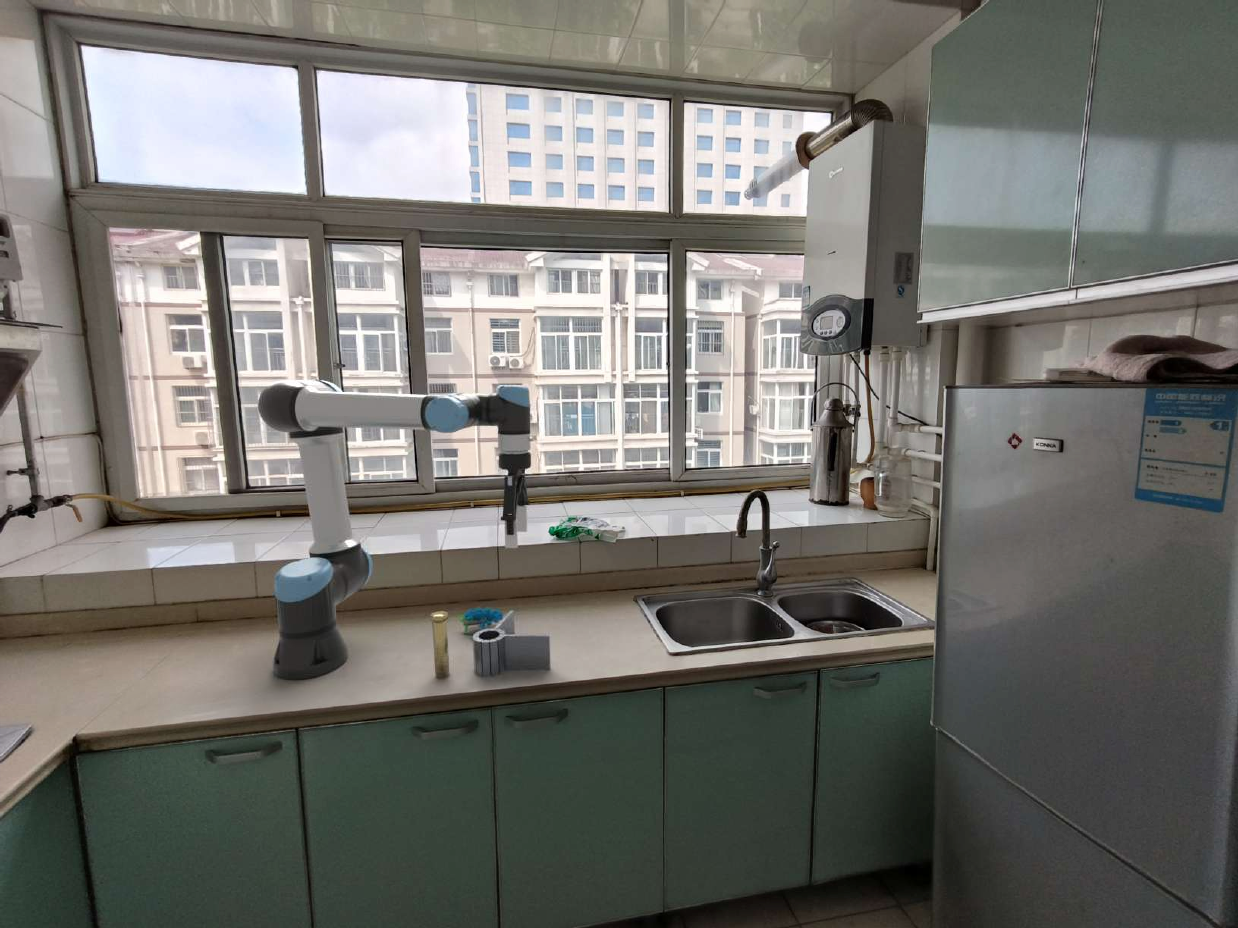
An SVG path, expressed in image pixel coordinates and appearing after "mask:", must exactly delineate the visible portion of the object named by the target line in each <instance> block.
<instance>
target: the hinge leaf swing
mask: <svg viewBox="0 0 1238 928" xmlns="http://www.w3.org/2000/svg"><path fill="white" fill-rule="evenodd" d="M494 628H496V629H501V630H503V631H504V632H505V633H506V634H516V633H515V631H516V630H515V611H514V610H510V611H508V613H506V615H505V616H503V619H502V620H499V622H498V623H497V624H496V626H494Z"/></svg>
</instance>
